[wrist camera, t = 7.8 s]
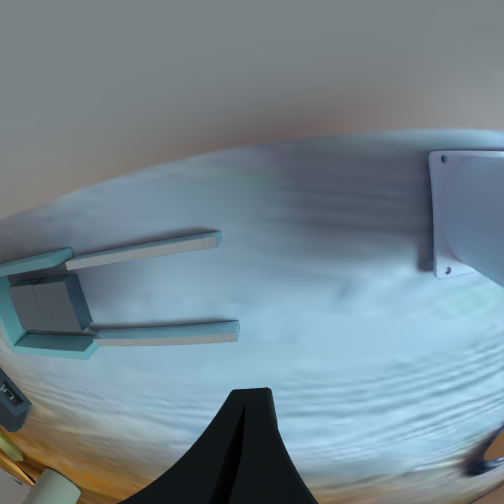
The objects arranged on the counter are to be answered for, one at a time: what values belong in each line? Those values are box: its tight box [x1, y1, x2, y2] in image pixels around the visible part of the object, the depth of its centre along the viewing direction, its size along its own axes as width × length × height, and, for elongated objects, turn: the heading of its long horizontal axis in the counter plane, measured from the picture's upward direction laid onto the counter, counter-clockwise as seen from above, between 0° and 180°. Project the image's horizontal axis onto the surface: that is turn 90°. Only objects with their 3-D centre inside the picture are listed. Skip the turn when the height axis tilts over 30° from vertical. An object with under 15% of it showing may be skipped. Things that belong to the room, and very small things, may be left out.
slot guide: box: [65, 231, 240, 346], centre depth 18 cm, size 11×7×2 cm, turn 100°
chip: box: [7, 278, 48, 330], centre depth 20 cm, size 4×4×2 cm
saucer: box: [0, 429, 23, 461], centre depth 32 cm, size 9×9×2 cm
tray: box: [0, 248, 100, 360], centre depth 19 cm, size 11×8×2 cm
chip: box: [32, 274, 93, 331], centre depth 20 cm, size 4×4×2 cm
